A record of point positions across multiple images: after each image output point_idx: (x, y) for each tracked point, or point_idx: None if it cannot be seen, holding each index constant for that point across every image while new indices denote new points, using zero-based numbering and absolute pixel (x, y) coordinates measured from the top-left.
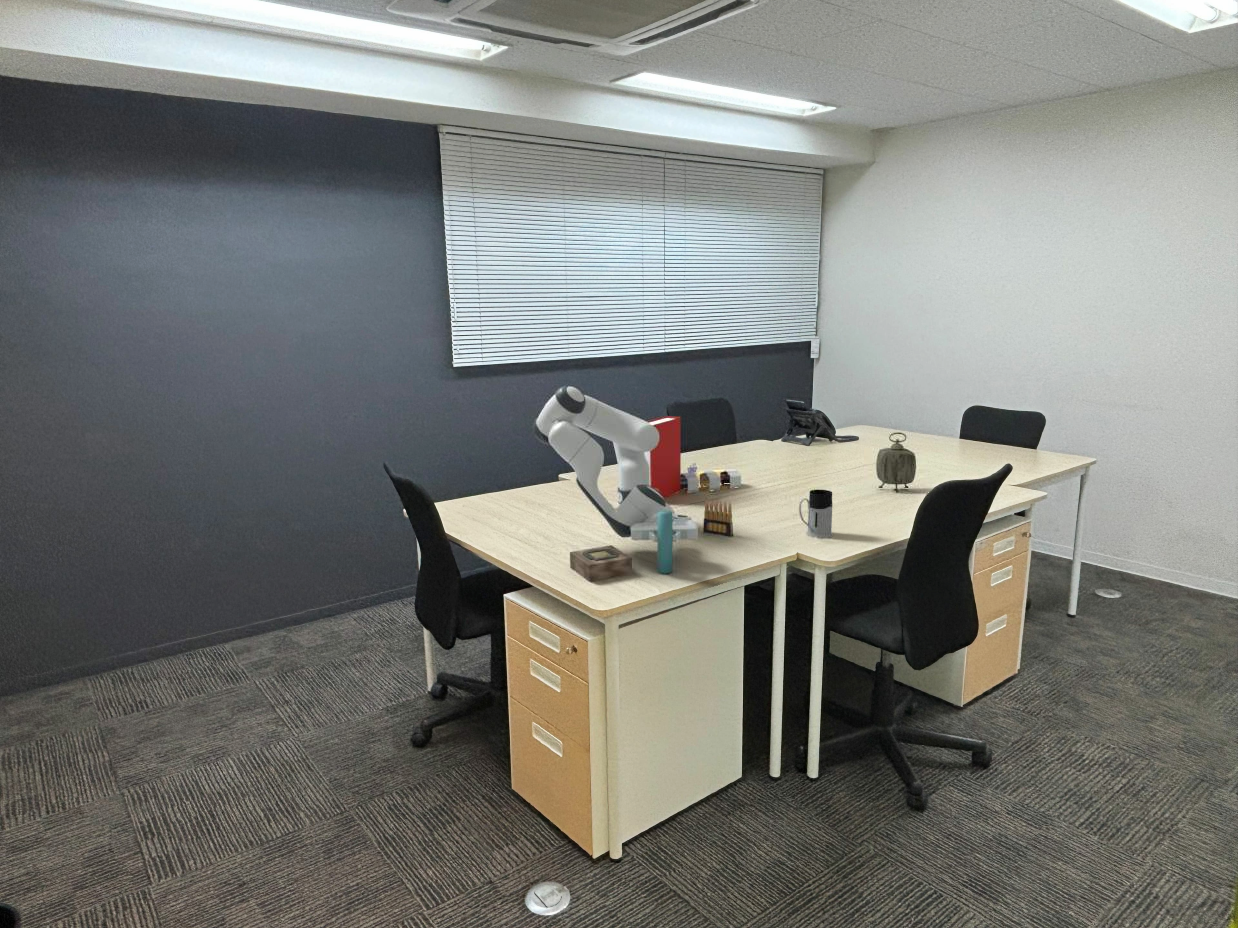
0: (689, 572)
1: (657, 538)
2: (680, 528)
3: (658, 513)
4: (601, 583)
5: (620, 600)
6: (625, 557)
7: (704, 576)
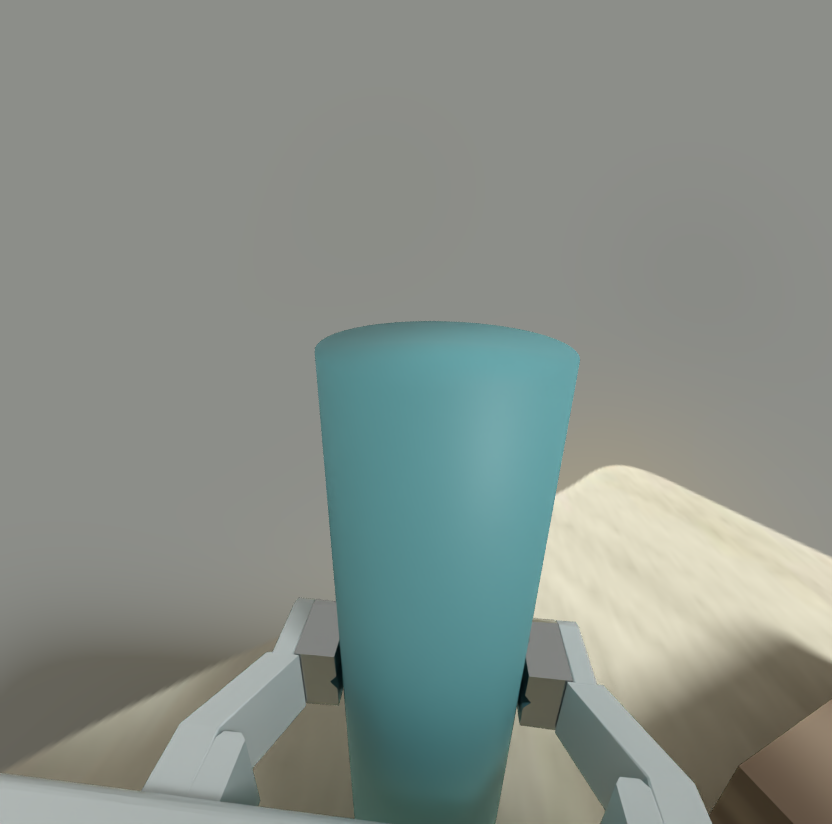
0: None
1: None
2: (98, 808)
3: (543, 337)
4: (786, 656)
5: (595, 499)
6: (809, 779)
7: (189, 700)
